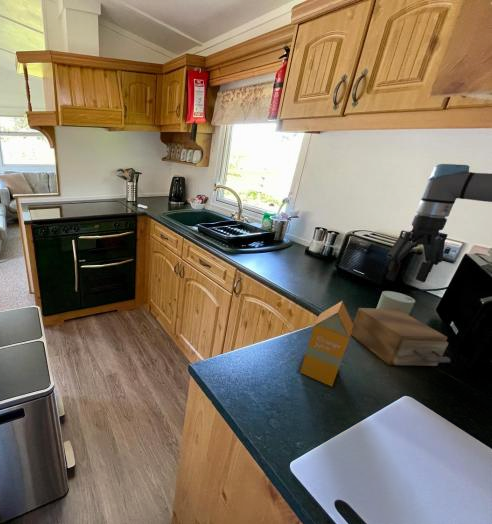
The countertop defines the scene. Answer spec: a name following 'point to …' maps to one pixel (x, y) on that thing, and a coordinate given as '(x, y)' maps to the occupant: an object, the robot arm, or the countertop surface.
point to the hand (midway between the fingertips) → (405, 280)
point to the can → (396, 301)
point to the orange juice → (327, 344)
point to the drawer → (421, 352)
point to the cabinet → (389, 331)
